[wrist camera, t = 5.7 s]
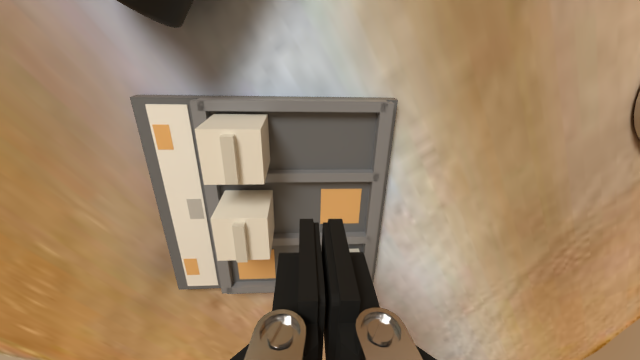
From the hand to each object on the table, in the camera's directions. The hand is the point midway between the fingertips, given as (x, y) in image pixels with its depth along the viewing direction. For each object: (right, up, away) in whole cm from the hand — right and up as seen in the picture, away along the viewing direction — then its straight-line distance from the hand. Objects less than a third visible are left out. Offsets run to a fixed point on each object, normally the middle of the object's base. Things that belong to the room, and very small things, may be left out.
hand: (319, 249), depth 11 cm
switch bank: (-4, +1, +15) cm, 16 cm away
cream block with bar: (-6, +6, +11) cm, 14 cm away
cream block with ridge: (-6, 0, +14) cm, 15 cm away
